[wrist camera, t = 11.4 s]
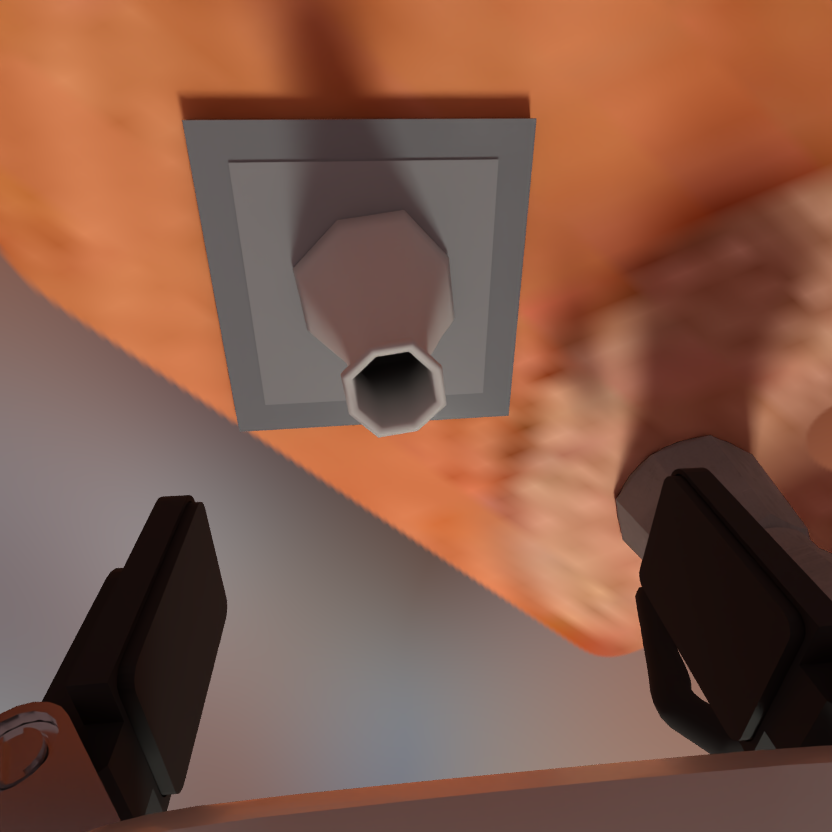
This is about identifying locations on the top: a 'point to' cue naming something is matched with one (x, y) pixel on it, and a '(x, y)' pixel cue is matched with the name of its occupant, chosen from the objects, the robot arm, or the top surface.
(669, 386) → the top surface
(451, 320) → the flask
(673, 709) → the coffeepot
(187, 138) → the slate coaster
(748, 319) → the top surface
